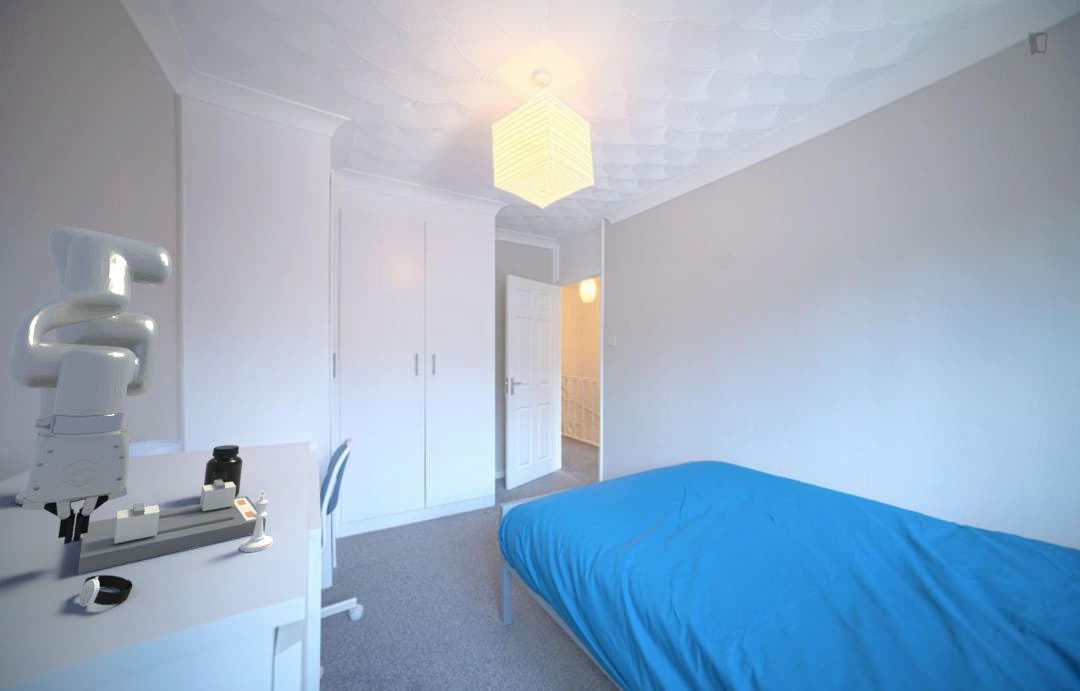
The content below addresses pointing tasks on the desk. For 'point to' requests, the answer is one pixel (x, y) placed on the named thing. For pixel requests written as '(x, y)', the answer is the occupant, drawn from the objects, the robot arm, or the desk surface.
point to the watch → (95, 595)
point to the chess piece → (258, 530)
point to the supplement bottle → (224, 466)
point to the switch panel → (167, 534)
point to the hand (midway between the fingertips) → (72, 539)
